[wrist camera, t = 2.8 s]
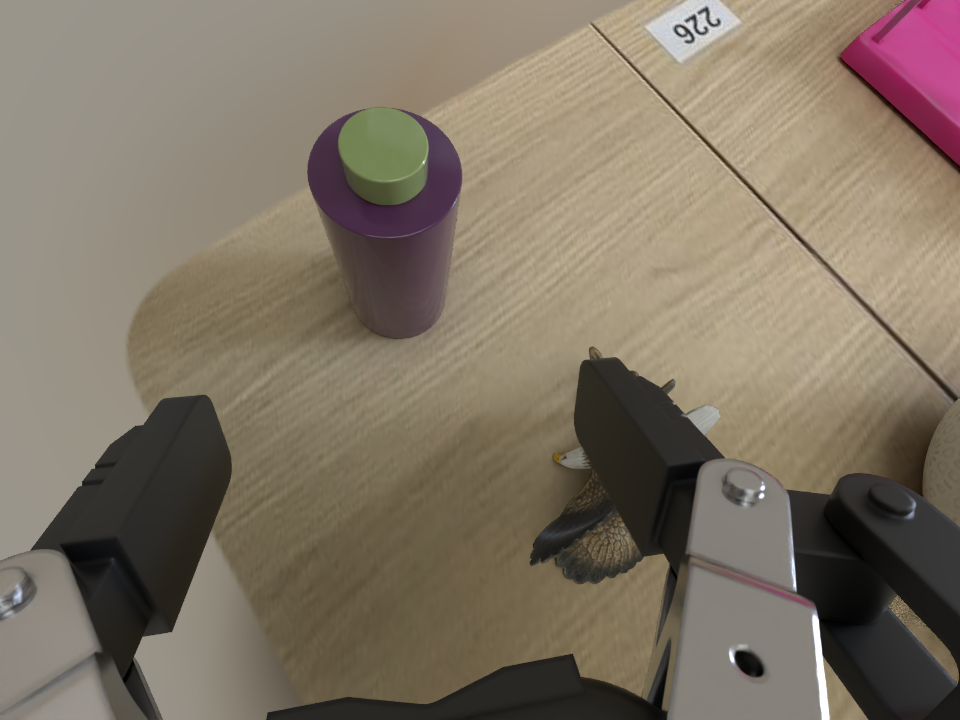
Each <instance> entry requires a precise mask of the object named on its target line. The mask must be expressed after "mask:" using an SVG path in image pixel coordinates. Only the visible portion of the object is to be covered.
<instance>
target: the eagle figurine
mask: <svg viewBox="0 0 960 720" xmlns="http://www.w3.org/2000/svg"><path fill="white" fill-rule="evenodd" d="M589 355H590V360H591V359H601V358H602V355H601V353H600V352H599V350H598V349H596V348H595V347H590V348H589ZM630 372H631V373H632V375H633V376H634V377H636V376H639V374H638V373H637V372H635V371H630ZM674 386H675V380H674V379H672V380H670V381H669V382H668V383H666V384H665V385H664V386H663V387H661V389H662V390H663V391H664V392H665V393H666V394H668V393H669V392H670V391H671V390H672V389H673V388H674ZM684 416H685V417H688V418H689V419H690V420H691V421H692V423H693V424H694V425H695V426H696V427H697V428H698V429H699V430H700V431H701V432H702V433H703V435H704V436H705V434H707V432H708V431H709V430H710V429H711V428H712V427H713V426H714V425H715V424H716V422H717V421H718V420H719V418H720V416H721V414H720V413H719V409H718V408H716V407H713V406H705V405H704V406H701V407H698V408H696V409H694V410H692V411H690V412H688V413H686V414H685V415H684ZM553 459H554V460H555V461H556V462H558V463H560V464H562V465H563V466H566V467H568V468H571V469H587V468H590V469H593V471H592V475H591V477H590V479H589V481H588V482H587V484H586V485H585V487H584V488H583V489H582V490H581V491H580V492H579V493H578V494H576V495H575V496H574V497H573V498H572V499H571V500H570V501H569V503H568V504H567V506H566V507H565V509H564V511H563V512H562V514H561V515H560V516H559V517H558V518H557V519H556V520H554V521H553V522H551V523H550V524H549V525H548V526H547V527H546V528H545V529H544V530H543V531H542V532H541V533H540V534H539V536H538V537H537V538H536V539H535V541H534V543H533V548H534V549H533V551H532V553H531V555H530V558H531V561H530V565H531V566H534V565H535V564H537V563H539V562H540V561H541V563H542V564H544V563H546V562H548V561H549V560H550V559H551V558H556V557H557V566H558V567H561V568H564V575H565V577H566V578H567V579H572V578H573V579H574V581H575V582H576V583H577V584H583V583H585V582H587V581H589V580H590V581H591V583H593V584H597V583H599V582H600V581H602V580H603V579H604V577H605V576H606V575H608V576H609V578H615V576H616V575H617V574H618V573H620V572H621V573H627V571H628V570H629V569H631V568H633V567H634V566H635V565H636V563H637V562H640V561H641V560H642V559H643V557H642V555H641V553H640V551H639V550H638V548H637V546H636V544H635V542H634V540H633V539H632V537H631V535H630V533H629V531H628V530H627V528H626V526H625V524H624V522H623V521H622V519H621V517H620V515H619V513H618V511H617V510H616V508H615V506H614V504H613V502H612V501H611V499H610V497H609V495H608V493H607V491H606V490H605V488H604V486H603V484H602V482H601V481H600V479H599V477H598V475H597V473H596V472H595V470H594V468H593V466H592V464H591V462H590V461H589V459H588V457H587V455H586V453H585V452H584V450H583V448H582V446H581V447H579V448H577V449H574V450H572V451H569V452H567V453H564V454H557V453H554V455H553Z"/></svg>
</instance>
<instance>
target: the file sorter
mask: <svg viewBox="0 0 960 720" xmlns="http://www.w3.org/2000/svg"><path fill="white" fill-rule="evenodd" d="M841 58H842V59H843V60H844V61H845V62H846V63H847V64H848V65H849V66H851V67H852V68H853V69H854V70H855V71H856V72H857V73H858V74H860V75H861V76H862V77H863V78H864V79H865V80H866V81H867V82H868V83H870V84H871V85H872V86H873V87H874V88H875V89H876V90H877V91H878V92H879V93H881V94H882V95H883V96H884V97H885V98H886V99H887V100H888V101H889V102H890V103H891V104H893V105H894V106H895V107H896V108H897V109H898V110H899V111H900V112H901V113H902V114H903V115H904V116H906V117H907V118H908V119H909V120H910V121H911V122H912V123H913V124H914V125H915V126H917V127H918V128H919V129H920V130H921V131H922V132H923V133H924V134H926V135H927V136H928V137H929V138H930V139H931V140H932V141H933V142H934V143H935V144H936V145H937V146H939V147H940V148H941V149H942V150H943V151H944V152H945V153H946V154H947V155H948V156H949V157H950V158H952V159H953V160H954V161H955V162H956V163H957V164H958V165H959V166H960V0H905V1H904V2H902V3H901V4H900V5H898V6H897V7H896V8H894V9H893V10H892V11H891V12H889V13H888V14H887V15H885V16H884V17H882V18H881V19H880V20H879V21H877V22H876V23H875V24H873V25H872V26H871V27H869V28H868V29H867V30H865V31H864V32H863V33H861V34H860V35H859V36H858V37H857V38H856V39H855V40H854V41H853V42H852V43H851V44H850V45H849V46H848V47H847V48H846V49H845V50H844V51H843V52H842V53H841Z"/></svg>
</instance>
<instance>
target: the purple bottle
mask: <svg viewBox="0 0 960 720" xmlns="http://www.w3.org/2000/svg"><path fill="white" fill-rule="evenodd" d="M308 182H309V186H310V190H311V192H312V195H313V198H314V201H315V203H316V206H317V209H318V212H319V214H320V217H321V220H322V223H323V225H324V228H325V231H326V234H327V236H328V239H329V242H330V245H331V247H332V250H333V253H334V256H335V258H336V261H337V264H338V267H339V269H340V272H341V275H342V278H343V280H344V283H345V286H346V289H347V291H348V294H349V297H350V300H351V303H352V305H353V308H354V310H355V313H356V315H357V316H358V318H359V319H360V321H361V322H362V323H363V324H364V325H365V326H366V327H367V328H369V329H370V330H371V331H373V332H375V333H376V334H379V335H381V336H384V337H388V338H395V339H402V338H409V337H414V336H416V335H419V334H421V333H423V332H425V331H426V330H428V329H429V328H430V327H431V326H432V325H434V323H435V322H436V321H437V320H438V318H439V317H440V315H441V313H442V311H443V308H444V305H445V298H446V291H447V284H448V277H449V270H450V263H451V256H452V249H453V242H454V235H455V228H456V221H457V214H458V207H459V200H460V193H461V186H462V168H461V162H460V159H459V156H458V154H457V152H456V150H455V148H454V146H453V144H452V143H451V141H450V140H449V139H448V137H447V136H446V135H445V134H444V133H443V132H442V131H441V130H440V129H439V128H438V127H437V126H435V125H434V124H432V123H431V122H430V121H428V120H426V119H424V118H423V117H421V116H419V115H416V114H414V113H411V112H408V111H404V110H400V109H394V108H386V107H376V108H369V109H363V110H360V111H356V112H353V113H350V114H348V115H345V116H343V117H342V118H340V119H338V120H337V121H335V122H334V123H332V124H331V125H330V126H328V127H327V128H326V129H325V130H324V131H323V133H322V134H321V135H320V136H319V137H318V139H317V141H316V142H315V144H314V146H313V149H312V151H311V153H310V157H309V161H308Z"/></svg>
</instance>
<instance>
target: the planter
mask: <svg viewBox="0 0 960 720" xmlns="http://www.w3.org/2000/svg"><path fill="white" fill-rule="evenodd" d="M923 498H925V499H926V500H927V501H929V502H930V503H931V504H932V505H933V506H935V507H936V508H937V509H938V510H940V511H941V512H942V513H943V514H945V515H946V516H947V517H948V518H949V519H951V520H952V521H953V522H954V523H956V524H957V525H958V526H959V527H960V398H958V399H957V400H956V401H955V402H954V404H953V405H952V406H951V407H950V408H949V410H948V411H947V412H946V414H945V415H944V417H943V418H942V420H941V421H940V423H939V425H938V426H937V428H936V430H935V432H934V435H933V437H932V439H931V442H930V445H929V448H928V451H927V455H926V460H925V465H924V472H923Z"/></svg>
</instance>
